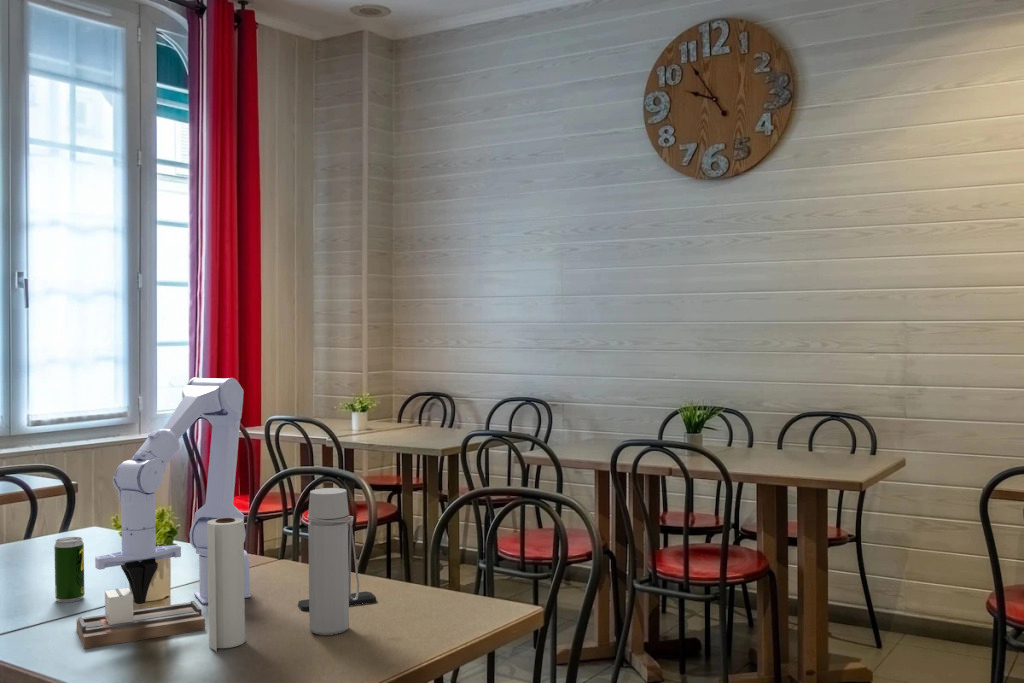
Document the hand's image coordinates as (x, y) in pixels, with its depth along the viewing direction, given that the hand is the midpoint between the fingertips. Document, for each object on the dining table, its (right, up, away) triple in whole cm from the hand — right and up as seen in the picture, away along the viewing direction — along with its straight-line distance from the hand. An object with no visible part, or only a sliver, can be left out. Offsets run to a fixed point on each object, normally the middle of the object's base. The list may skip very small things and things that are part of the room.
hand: (139, 602), depth 176 cm
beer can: (-22, -5, +20) cm, 30 cm away
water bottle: (+35, -5, -1) cm, 35 cm away
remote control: (+33, -5, +16) cm, 37 cm away
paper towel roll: (+18, -5, -8) cm, 20 cm away
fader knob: (-3, -3, -2) cm, 4 cm away
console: (0, -5, 0) cm, 5 cm away
